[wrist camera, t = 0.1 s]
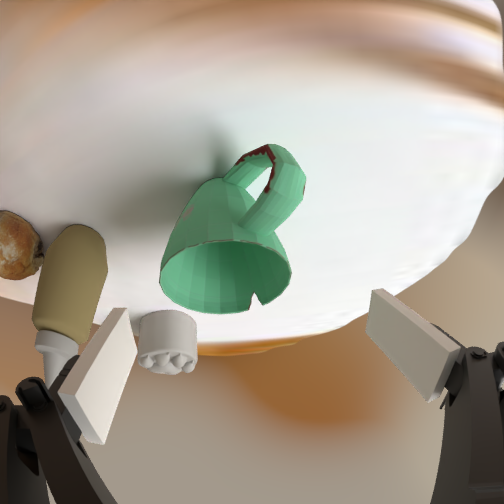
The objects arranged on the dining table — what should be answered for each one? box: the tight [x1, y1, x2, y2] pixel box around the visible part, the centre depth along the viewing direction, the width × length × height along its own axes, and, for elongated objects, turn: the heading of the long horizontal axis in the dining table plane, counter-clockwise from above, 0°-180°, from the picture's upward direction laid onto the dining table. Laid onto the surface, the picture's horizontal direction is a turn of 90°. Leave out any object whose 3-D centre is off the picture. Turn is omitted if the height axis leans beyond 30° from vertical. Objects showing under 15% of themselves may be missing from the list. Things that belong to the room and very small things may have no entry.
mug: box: [159, 144, 306, 314], centre depth 21 cm, size 15×10×10 cm
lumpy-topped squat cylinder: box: [138, 310, 197, 375], centre depth 45 cm, size 10×13×9 cm
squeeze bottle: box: [32, 225, 108, 389], centre depth 22 cm, size 8×8×18 cm
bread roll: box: [0, 211, 45, 280], centre depth 24 cm, size 10×10×8 cm
